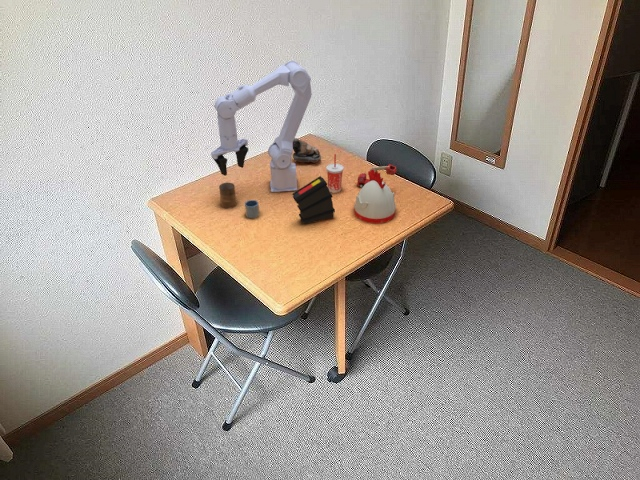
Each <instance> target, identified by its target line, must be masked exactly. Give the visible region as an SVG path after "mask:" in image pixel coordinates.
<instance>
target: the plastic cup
mask: <svg viewBox="0 0 640 480" xmlns="http://www.w3.org/2000/svg"><path fill="white" fill-rule="evenodd" d="M259 207H260V206H259V201H257V199H256V200H255V199H250V200H247V201H245V202H244V208H245V216H246V217H247V218H248V219H256V218H258V217H259V216H260V208H259Z"/></svg>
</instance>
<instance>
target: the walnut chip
mask: <svg viewBox="0 0 640 480" xmlns="http://www.w3.org/2000/svg"><path fill="white" fill-rule="evenodd" d="M218 189H219V195H220V194H221V195H222V196H231V195H233V194H234V193H235V194H236V187H235V183H233V182H223V183H221V184H220V185H219V186H218Z"/></svg>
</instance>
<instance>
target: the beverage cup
mask: <svg viewBox="0 0 640 480" xmlns="http://www.w3.org/2000/svg"><path fill="white" fill-rule="evenodd" d="M333 161H334V163H329V164H328V165H327V166H326V168H325V169H326V174H327V184H328V185H327V187H328V189H329V192H330V193H331V194H332V193H333V194H337V193H340V192H341V191H342V183H343V171H344V169H345V168H344V165H342V164H340V163H337V154H335V153H334V160H333Z"/></svg>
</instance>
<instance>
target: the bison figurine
mask: <svg viewBox="0 0 640 480" xmlns="http://www.w3.org/2000/svg"><path fill="white" fill-rule="evenodd" d="M321 159H322V155H321V152H320V150H319V149H318V148H317V147H316V146H312V145H310V144H309V143H308V142H306V141H305V140H303V139H299V138H297V137H295V138H294V141H293V153H292V160H293V161H294V162H296V163H297V162H298V163H299V162H300V163H313V164H316V163H318V162H319V161H320V160H321Z"/></svg>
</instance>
